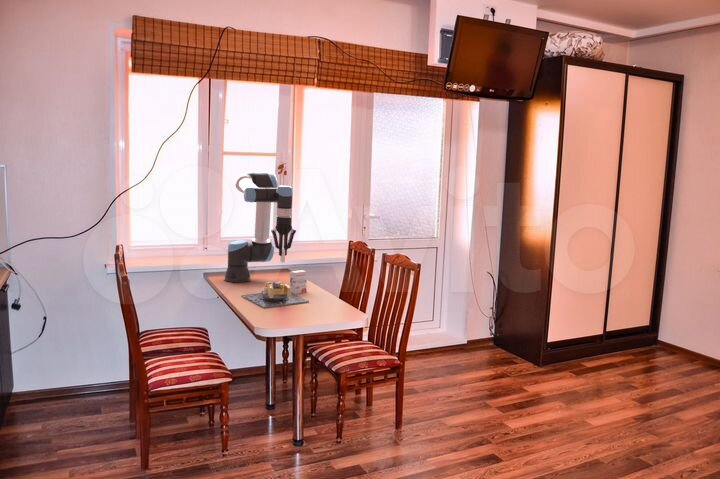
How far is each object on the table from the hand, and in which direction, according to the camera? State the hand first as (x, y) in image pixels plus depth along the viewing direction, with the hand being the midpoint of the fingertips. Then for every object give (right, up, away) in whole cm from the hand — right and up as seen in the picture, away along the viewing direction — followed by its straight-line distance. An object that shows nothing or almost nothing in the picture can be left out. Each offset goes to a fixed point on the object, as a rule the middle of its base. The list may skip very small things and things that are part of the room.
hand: (282, 261), depth 301 cm
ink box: (+5, -18, +24) cm, 31 cm away
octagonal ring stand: (-3, -16, +2) cm, 17 cm away
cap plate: (-5, -20, +6) cm, 21 cm away
